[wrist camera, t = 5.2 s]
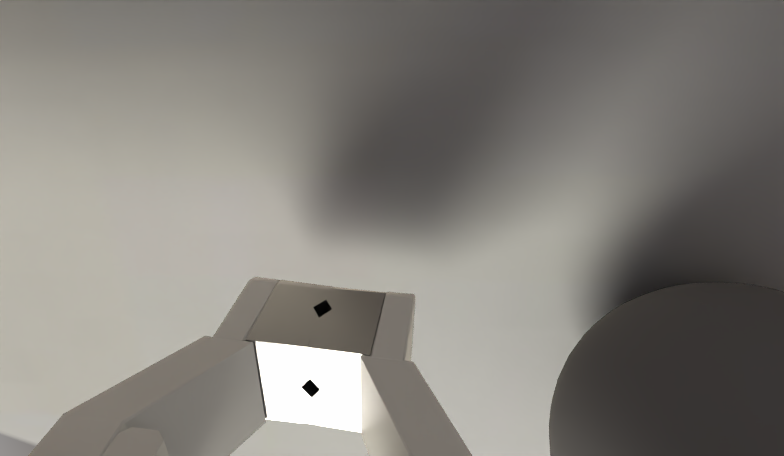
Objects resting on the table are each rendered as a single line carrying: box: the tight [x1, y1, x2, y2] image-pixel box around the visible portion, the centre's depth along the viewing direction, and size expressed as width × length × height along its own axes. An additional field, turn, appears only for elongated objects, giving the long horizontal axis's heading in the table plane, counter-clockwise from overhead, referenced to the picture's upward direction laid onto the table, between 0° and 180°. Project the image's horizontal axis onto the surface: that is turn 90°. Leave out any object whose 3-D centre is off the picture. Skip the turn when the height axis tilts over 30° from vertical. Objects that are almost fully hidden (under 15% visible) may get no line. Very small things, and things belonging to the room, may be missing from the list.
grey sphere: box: [549, 282, 784, 456], centre depth 8 cm, size 6×6×6 cm
